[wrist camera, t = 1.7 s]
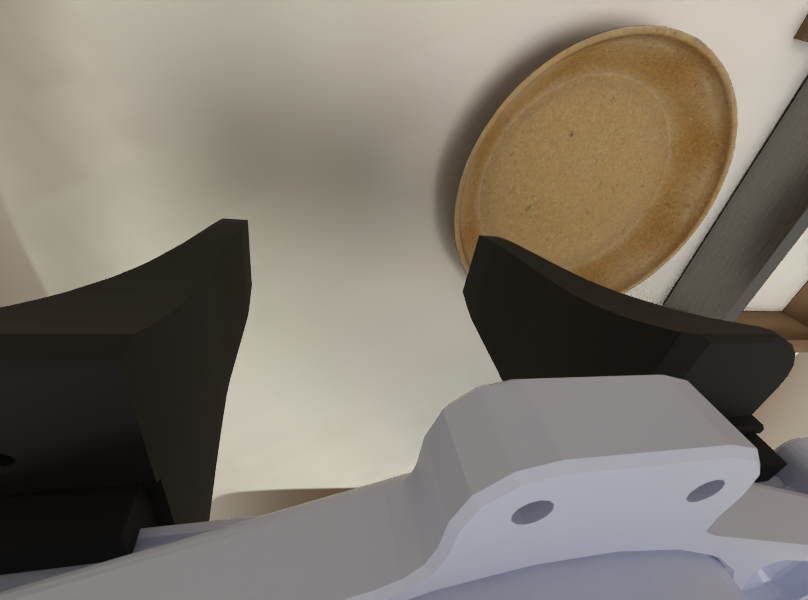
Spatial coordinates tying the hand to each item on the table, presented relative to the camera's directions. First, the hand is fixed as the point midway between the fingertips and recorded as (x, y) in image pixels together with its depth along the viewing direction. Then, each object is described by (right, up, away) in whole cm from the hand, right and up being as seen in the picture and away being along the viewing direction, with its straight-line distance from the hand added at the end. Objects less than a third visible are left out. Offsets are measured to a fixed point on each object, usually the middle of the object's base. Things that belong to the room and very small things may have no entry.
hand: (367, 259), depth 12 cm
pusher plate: (+22, +5, +14) cm, 27 cm away
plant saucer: (+10, +5, +11) cm, 16 cm away
